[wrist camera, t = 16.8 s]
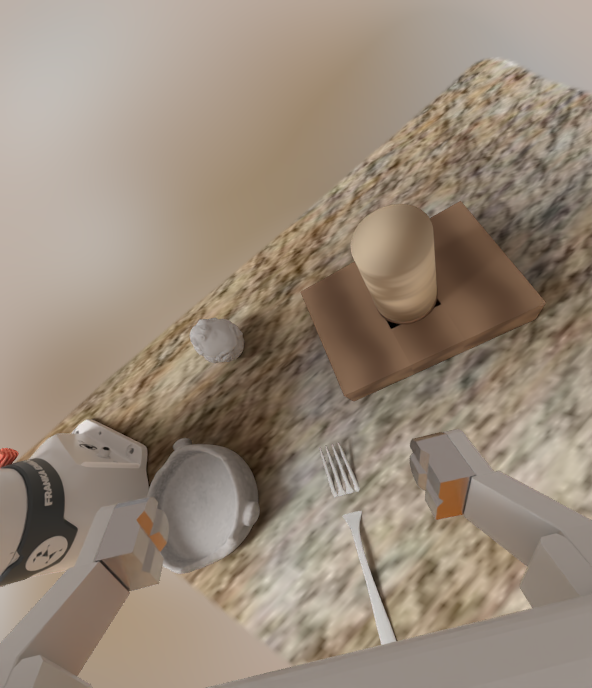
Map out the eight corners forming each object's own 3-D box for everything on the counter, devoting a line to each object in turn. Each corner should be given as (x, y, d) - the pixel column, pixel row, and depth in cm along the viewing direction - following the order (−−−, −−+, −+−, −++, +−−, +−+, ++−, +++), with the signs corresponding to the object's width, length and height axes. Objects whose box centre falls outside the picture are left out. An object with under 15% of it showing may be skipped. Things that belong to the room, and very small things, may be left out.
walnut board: (353, 401, 37) (344, 395, 34) (312, 305, 43) (300, 291, 40) (535, 319, 32) (546, 302, 29) (459, 223, 38) (460, 200, 35)
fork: (399, 740, 27) (396, 756, 26) (320, 448, 37) (315, 448, 36) (437, 738, 26) (437, 756, 25) (346, 440, 36) (342, 440, 35)
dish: (284, 496, 37) (262, 502, 33) (212, 594, 37) (181, 612, 33) (212, 418, 44) (187, 414, 40) (152, 499, 44) (121, 504, 40)
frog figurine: (223, 324, 48) (191, 305, 42) (261, 333, 45) (232, 314, 39) (208, 362, 47) (174, 349, 41) (246, 374, 44) (214, 361, 38)
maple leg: (371, 324, 38) (336, 263, 26) (394, 278, 39) (370, 198, 27) (424, 343, 35) (412, 284, 23) (447, 293, 36) (448, 210, 24)
